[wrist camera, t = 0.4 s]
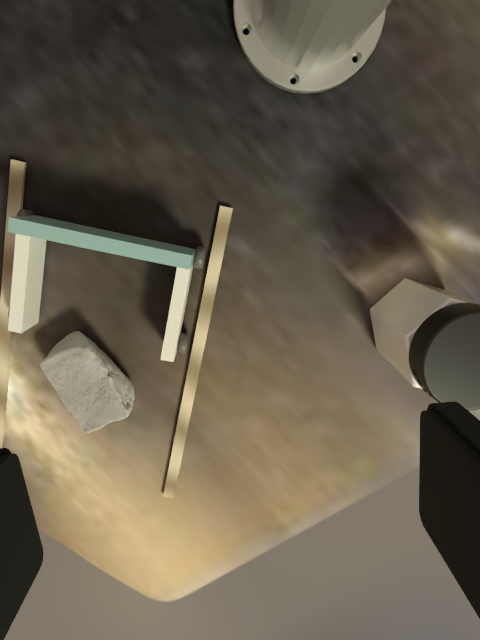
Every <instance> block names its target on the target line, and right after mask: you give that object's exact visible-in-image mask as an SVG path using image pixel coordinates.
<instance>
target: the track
mask: <svg viewBox="0 0 480 640" xmlns="http://www.w3.org/2000/svg"><path fill="white" fill-rule="evenodd" d="M25 174H26V162H21V161H17V160H12V159H11V162H10V175H9V189H8V202H7V216H6V229H5V243H4V257H3V270H2V284H1V297H0V448H3V439H4V427H5V415H6V403H7V391H8V379H9V367H10V355H11V343H12V331H8V324H9V317H8V312H9V307H10V299H11V286H12V274H13V261H14V249H15V236H16V234H15V233H10V232H8V223H9V217H16V216H17V213H18V211H19V210H20V209H23V198H24V186H25ZM232 210H233V208H229V207H224V206H220V209H219V214H218V219H217V224H216V229H215V234H214V239H213V244H212V249H211V254H210V260H209V265H208V270H207V275H206V280H205V285H204V290H203V295H202V300H201V305H200V310H199V316H198V321H197V326H196V331H195V336H194V341H193V346H192V351H191V356H190V361H189V366H188V372H187V377H186V382H185V387H184V392H183V397H182V402H181V407H180V412H179V417H178V422H177V428H176V433H175V438H174V443H173V448H172V453H171V458H170V463H169V468H168V473H167V478H166V484H165V489H164V494H163V496H164V497H170V498H174V494H175V489H176V484H177V479H178V474H179V469H180V465H181V460H182V455H183V450H184V445H185V440H186V435H187V430H188V425H189V420H190V416H191V411H192V406H193V401H194V396H195V391H196V386H197V381H198V376H199V371H200V367H201V362H202V357H203V352H204V347H205V342H206V337H207V332H208V327H209V322H210V318H211V313H212V308H213V303H214V298H215V293H216V288H217V283H218V278H219V273H220V269H221V264H222V259H223V254H224V249H225V244H226V239H227V234H228V229H229V224H230V220H231V215H232Z"/></svg>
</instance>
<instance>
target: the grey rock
mask: <svg viewBox="0 0 480 640" xmlns="http://www.w3.org/2000/svg"><path fill="white" fill-rule="evenodd" d="M40 366H41V368H42V370H43V372H44V374H45V375H46V377H47V378H48V380H49V381H50V383H51V384H52V386H53V387H54V388H55V389H56V390H57V392H58V394H59V396H60V398H61V399H62V401H63V402H64V404H65V405H66V407H67V409H68V410H69V411H71V413H72V415H73V416H74V417H75V418H76V420H77V421H78V423H79V424H80V425H81V427H82V428H83V430H84V431H85V432H86V433H90V432H92V431H94V430H98V429H100V428H102V427H103V426H105V425H106V424H108V423H110V422H113V421H117V420H121V419H124V418H126V417H127V416H128V415H129V414H130V412H131V410H132V406H133V401H134V397H135V396H134V387H133V385H132V382H131V381H130V380H129V379H128V378H127V376H125V375H124V374H123V373H122V371H121V370H120V369H119V368H118V367H117V366H116V365H115V364H114V362H113V361H112V360H111V359H110V358H109V357H108V356H107V355H106V354H105V353H104V352H103V351H102V350H101V349H99V348H98V347H97V345H96V344H95V343H94V342H92V341H91V340H90V339H89V338H88V337H86V336H85V335H84V334H83V333H81V332H79V331H75V332H72V333H70V334H68V335H67V336H66V337H65V338H63V339H62V340H61V341H60V342H58V343H57V344H56V345H55V346H54V347H53V348H52V349H51V351H50V352H49V354H48V356H47V357H46V358H44V359H43V360H42V361H41V362H40Z"/></svg>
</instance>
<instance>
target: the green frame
mask: <svg viewBox="0 0 480 640" xmlns="http://www.w3.org/2000/svg"><path fill="white" fill-rule="evenodd" d="M8 232H10V233H15V234H16V236H15V249H14V261H13V274H12V286H11V299H10V307H9V312H8V317H9V324H8V331H12V332H17V333H23V332H24V331H26V330H27V329H29V328H31V327H32V326H34V325H35V324H37V323H38V321H39V311H40V301H41V291H42V280H43V270H44V260H45V250H46V240H49V241H54V242H59V243H63V244H68V245H73V246H78V247H83V248H87V249H92V250H97V251H102V252H107V253H112V254H116V255H121V256H126V257H131V258H136V259H140V260H145V261H150V262H155V263H160V264H164V265H169V266H174V267H177V270H176V275H175V281H174V286H173V292H172V298H171V303H170V309H169V315H168V320H167V326H166V331H165V337H164V343H163V348H162V354H161V360H165V361H170V362H174V359H175V356H176V353H182V354H186V350H187V346H188V341H189V335H190V334H185V333H181V329H182V323H183V318H184V313H185V307H186V302H187V297H188V291H189V286H190V281H191V275H192V270H193V265H194V268H199V269H202V267H203V263H204V258H205V253H206V248H204V247H199V246H198V247H197V250H196V249H192V248H188V247H183V246H178V245H173V244H169V243H164V242H159V241H155V240H150V239H145V238H140V237H136V236H131V235H126V234H122V233H117V232H112V231H107V230H103V229H98V228H93V227H88V226H84V225H79V224H74V223H70V222H65V221H60V220H55V219H51V218H46V217H41V216H37V215H34V213H33V211H30V210H25V209H20V210H19V211H18V213H17V216H16V217H9V223H8ZM195 254H196V255H195ZM194 259H195V260H194ZM180 334H181V336H180ZM179 339H180V340H179ZM177 350H178V351H177Z"/></svg>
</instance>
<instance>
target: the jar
mask: <svg viewBox="0 0 480 640" xmlns="http://www.w3.org/2000/svg"><path fill="white" fill-rule="evenodd" d="M370 315H371V321H372V327H373V332H374V338H375V344H376V349H377V351H378V352H379V353H380V354H381V355H382V356H383V357H384V358H385V359H386V360H387V361H388V362H389V363H390V364H391V365H392V366H393V367H394V368H395V369H396V370H397V371H398V372H399V373H400V374H401V375H402V376H403V377H404V378H405V379H406V380H407V381H408V382H409V383H410V384H411V385H412V386H414V387H417V388H420V389H423V390H424V391H425V392H426V393H427V394H428V395H429V396H430V397H432V398H434V399H435V400H436V401H437V402H439V403H442V402H452V401H456V402H458V403H459V404H461V405H462V406H463V407H464V408H465V409H466V410H476V409H480V304H479V303H477V302H474V301H472V300H469V299H467V298H464V297H462V296H459V295H457V294H454V293H452V292H449V291H447V290H444V289H441V288H437V287H434V286H431V285H427V284H424V283H420V282H417V281H414V280H410V279H407V278H405V279H403V280H402V281H401V282H400V283H399V284H397V285H396V286H395V287H394V288H393V289H392V290H391V291H389V292H388V293H387V294H386V295H385V296H384V297H383V298H381V299H380V300H379V301H378V302H377V303H376V304H375V305H374V306H372V307H371V308H370Z"/></svg>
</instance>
